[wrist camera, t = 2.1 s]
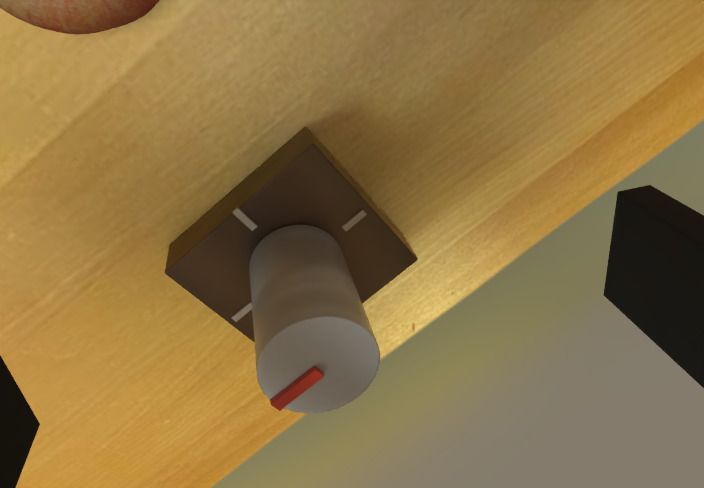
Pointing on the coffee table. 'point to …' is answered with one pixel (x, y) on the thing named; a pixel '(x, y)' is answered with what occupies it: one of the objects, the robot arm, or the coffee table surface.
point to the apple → (78, 13)
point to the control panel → (280, 211)
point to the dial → (309, 322)
